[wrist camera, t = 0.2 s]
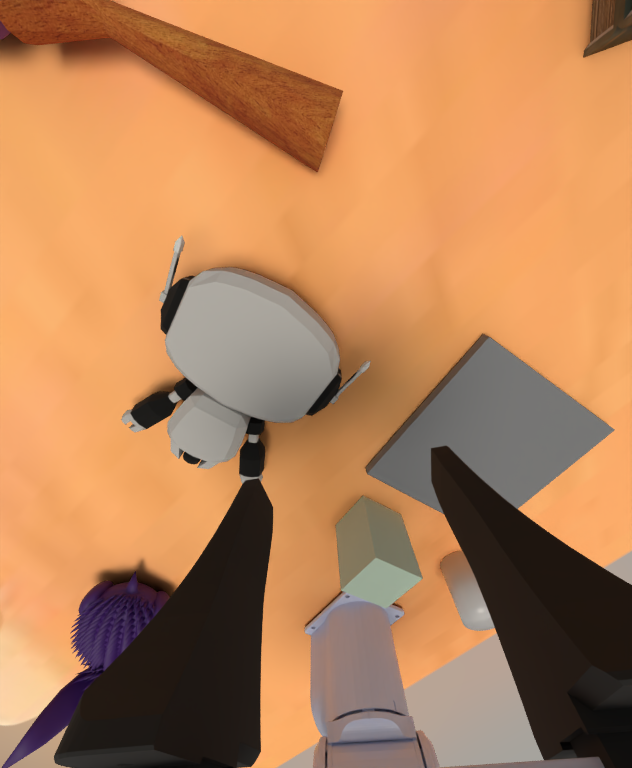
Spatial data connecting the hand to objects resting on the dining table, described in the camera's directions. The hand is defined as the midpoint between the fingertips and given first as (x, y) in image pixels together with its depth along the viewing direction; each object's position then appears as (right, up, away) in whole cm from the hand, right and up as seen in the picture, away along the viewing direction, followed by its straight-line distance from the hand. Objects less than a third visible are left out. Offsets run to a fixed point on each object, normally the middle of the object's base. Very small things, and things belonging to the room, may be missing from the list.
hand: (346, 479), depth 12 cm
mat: (+13, -1, +12) cm, 18 cm away
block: (+4, -9, +16) cm, 18 cm away
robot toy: (-7, +5, +10) cm, 13 cm away
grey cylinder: (+14, -15, +18) cm, 27 cm away
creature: (-22, -22, +21) cm, 37 cm away
